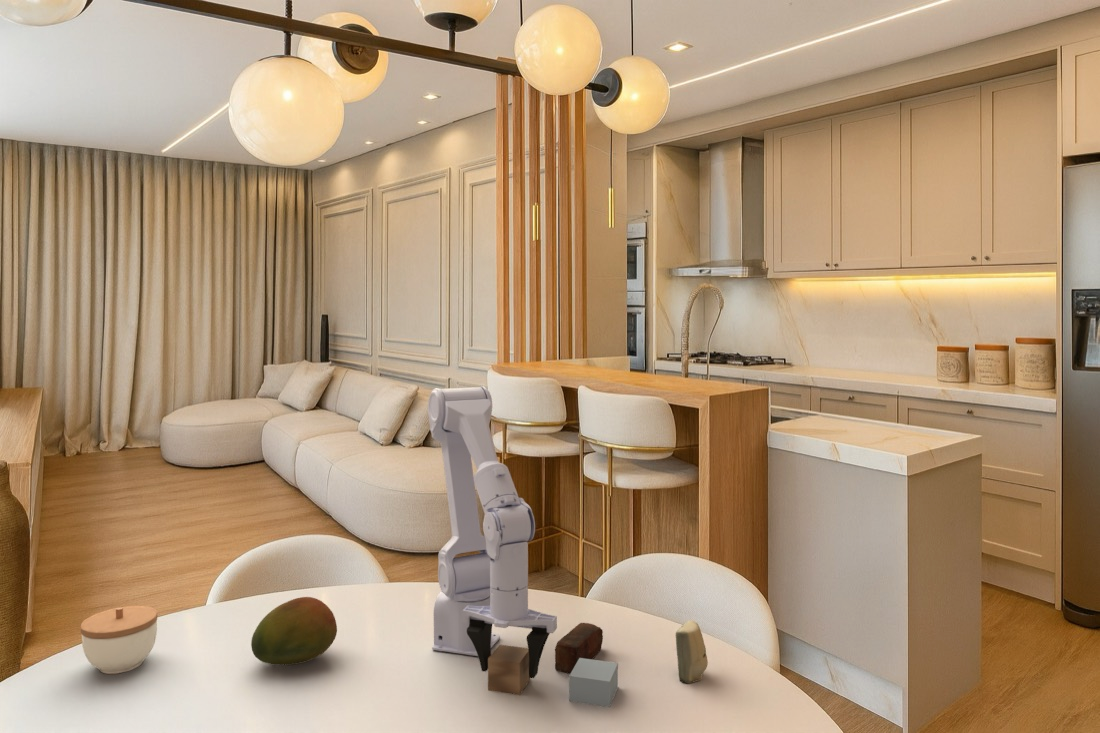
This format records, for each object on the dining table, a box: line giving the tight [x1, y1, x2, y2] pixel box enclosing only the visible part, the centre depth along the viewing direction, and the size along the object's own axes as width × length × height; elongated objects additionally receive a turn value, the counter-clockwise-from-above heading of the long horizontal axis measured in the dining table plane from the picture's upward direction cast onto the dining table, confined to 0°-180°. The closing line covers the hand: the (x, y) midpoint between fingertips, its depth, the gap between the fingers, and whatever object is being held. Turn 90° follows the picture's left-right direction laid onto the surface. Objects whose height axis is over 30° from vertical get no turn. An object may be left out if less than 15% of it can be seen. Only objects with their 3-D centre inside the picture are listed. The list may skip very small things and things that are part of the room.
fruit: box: [250, 596, 338, 666], centre depth 122 cm, size 12×13×10 cm
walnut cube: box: [487, 644, 531, 696], centre depth 114 cm, size 5×5×5 cm
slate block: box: [568, 658, 619, 708], centre depth 112 cm, size 6×6×4 cm
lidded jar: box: [79, 605, 158, 675], centre depth 121 cm, size 11×11×9 cm
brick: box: [554, 622, 604, 675], centre depth 123 cm, size 11×4×5 cm, turn 153°
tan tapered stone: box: [675, 619, 709, 684], centre depth 117 cm, size 6×5×8 cm
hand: (509, 671), depth 114 cm, fingers open, 7 cm apart
